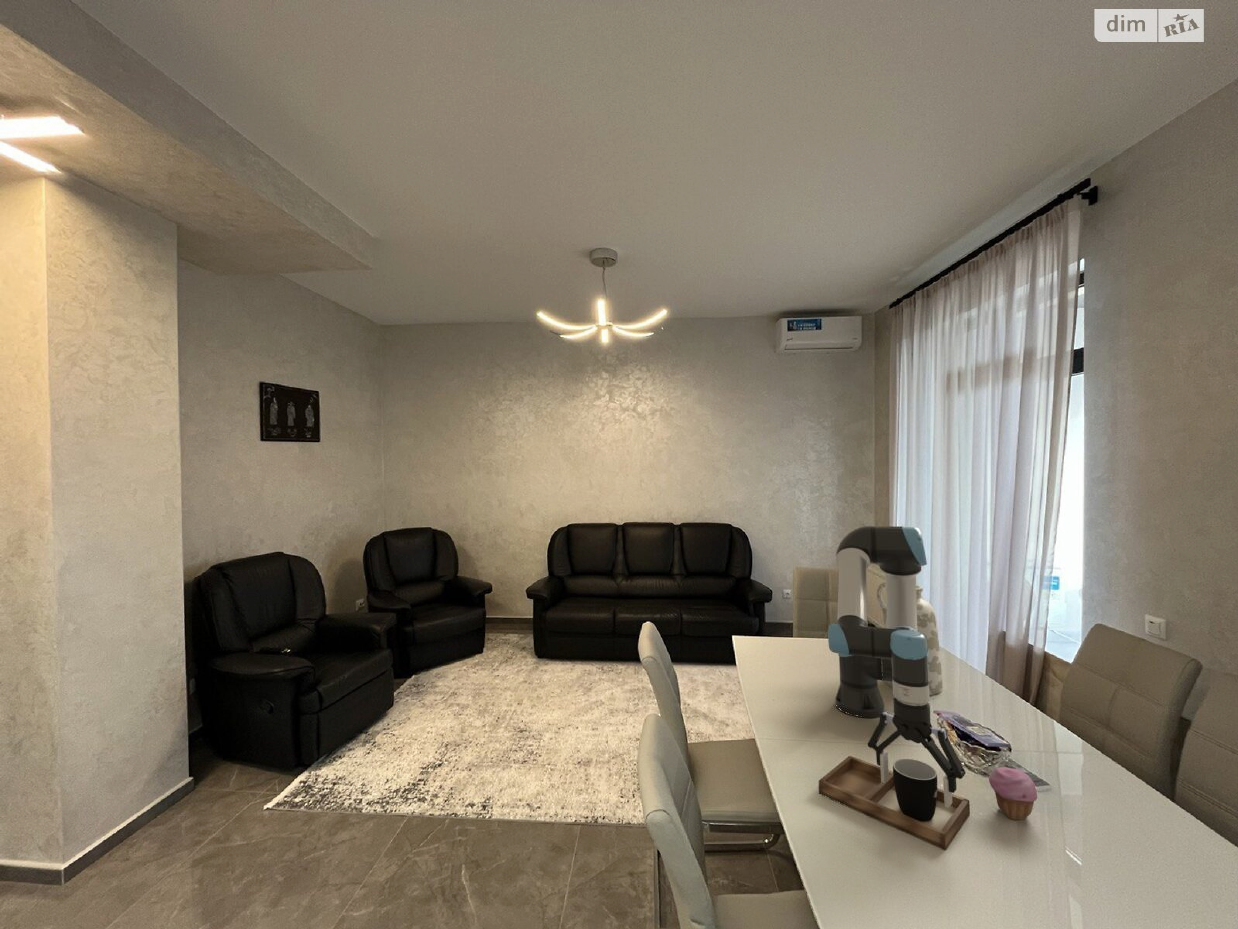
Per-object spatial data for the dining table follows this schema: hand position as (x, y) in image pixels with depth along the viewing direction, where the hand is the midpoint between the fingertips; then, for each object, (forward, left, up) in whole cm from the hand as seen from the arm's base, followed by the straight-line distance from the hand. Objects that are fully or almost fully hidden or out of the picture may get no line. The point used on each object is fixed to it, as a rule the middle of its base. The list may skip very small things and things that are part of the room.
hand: (915, 792), depth 123 cm
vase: (-28, +78, -5) cm, 84 cm away
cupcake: (+16, +15, -5) cm, 23 cm away
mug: (0, 0, -4) cm, 4 cm away
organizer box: (-5, 0, -5) cm, 7 cm away
